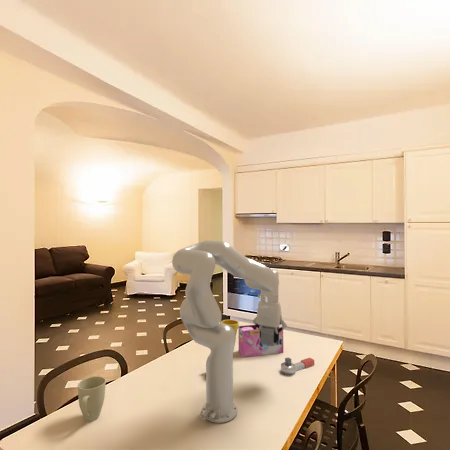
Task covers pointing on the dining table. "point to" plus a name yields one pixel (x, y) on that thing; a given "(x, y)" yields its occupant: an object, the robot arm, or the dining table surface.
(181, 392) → the dining table surface
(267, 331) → the brushed steel block
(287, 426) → the dining table surface
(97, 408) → the mug
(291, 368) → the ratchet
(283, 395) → the dining table surface
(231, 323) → the plant pot
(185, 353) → the dining table surface
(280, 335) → the gum box
